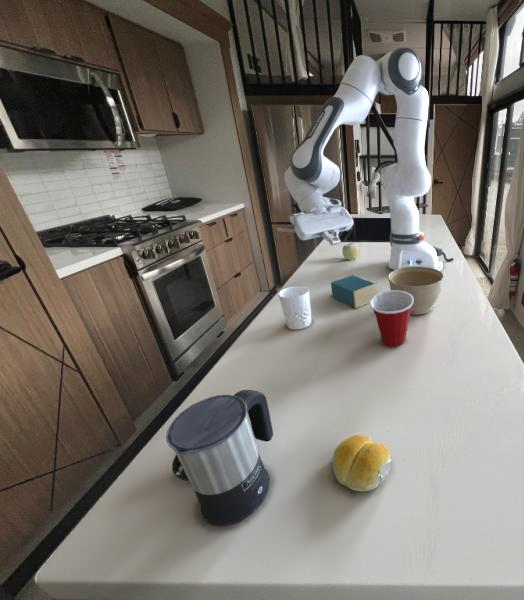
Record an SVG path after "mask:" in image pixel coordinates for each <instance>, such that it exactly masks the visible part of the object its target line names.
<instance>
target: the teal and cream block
mask: <svg viewBox="0 0 524 600" xmlns="http://www.w3.org/2000/svg"><path fill="white" fill-rule="evenodd" d="M330 287H331V288H330V289H331V295H332V297H333V298H335V299H338V300H339V301H342V302H344V303H346V304H348V305H350V306H352V307H354V308H355V309H358V308H360V307H363V306H365V305H367V304H369V303H370V299H371V298H372V297H374V296H375V295H377V294H379V283H377V282H372V281H370V280H367V279H364V278H361V277H358V276H357V275H354V274H351V275H348V276H346V277H343V278H340V279H337V280H334V281H331V282H330Z"/></svg>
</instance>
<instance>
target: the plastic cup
mask: <svg viewBox="0 0 524 600" xmlns="http://www.w3.org/2000/svg"><path fill="white" fill-rule="evenodd" d="M413 303H414V298H413V296H412V295H411V294H409V293H407V292H405V291H399V290H392V291H391V290H386V291H385V290H384V291H381V292H378V294H377V295H375V296H374V297H372V298H371V299H370V303H368V304H369V306H370V308H371V310H372V311H373V314H374V316H375V320H376V324H377V327H378V332H379V334H380V339H381V342H382V343H383V345H385V346H386V347H390V348H397V347H400V346H402V345H404V343H405V341H406V336H407V332H408V328H409V327H408V326H409V322H410V315H411V314H410V311H411V307H412V305H413Z"/></svg>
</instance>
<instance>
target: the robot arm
mask: <svg viewBox="0 0 524 600" xmlns="http://www.w3.org/2000/svg"><path fill="white" fill-rule="evenodd" d="M343 75H344V76H343V77H342V79H341V82H340V85H339V86H338V88H337V90H336V92H335V93H334V95H333V96H331V97H329V98H328V99H327V100H326V101H325V102H324V103H323V105H322V106H321V108H320V109H319V111H318V113H317V115H316V116H315V118H314V120H313V121H312V123H311V125H310V127H309V129H308V131H307V132H306V134H305V136H304V137H303V139H302V140H301V142H300V143H299V144H298V146H296V148H295V149H294V151H293V152H292V153H291V157H290V166H289V167H288V168H287V169H286V170H285V172H284V182H285V183H284V184H285V185H286V188H287V190H288V192H289V193H290V195H291V197H292V199H293V200H294V201H295V202H296V203H297V206H298V209H299V210H300V211H299V212H294V213H293V212H292V213H291V215H290V216H289V221H290V224H291V225H292V226H293V228H294V231H295V233H296V235H297V237H298V239H299V240H301V241H307V240H312V239H315V238H320V237H322V238H323V240H325V241H326V242H328V243H329V244H330V246H335V245H339V244H340V243H341V239H340V237H339V233H341V232H344V231H349V230H351V229H352V228H353V226H354V219H353V218H352V216H351V214H350V212H349V211H348V210H347V209H346V208H345V207H344V206H342V201H341V200H339V199H336V198H330V197H326V196H324V195H326V194H327V193H329V192H331V191H332V190H333V189H336V187H337V186H338V185H339V183H340V180H341V170H340V167H339V166H338V165H337V164H336V163H335V162H334V161H332V160H331V159H329V158H328V157H327V156H325V155H324V151H325V150H324V149H325V147H326V146H327V144H328V142H329V140H330V139H331V137H332V135H333V133H334V131H335V130H336V129H337V127H339V126H341V125H347V126H357V125H360V124H362V123H363V122H364V121H365V120H366V119H367V116H368V115H369V114H370V111H371V108H372V107H373V104H374V101H375V100H376V99H375V98H376V97H377V95H380V96H383V97H389V96H394V99H395V102H396V112H395V113H396V114H395V121H394V131H393V140H392V143H393V147H394V148H395V151H396V157H397V162H396V163H391V164H388V165H387V166H385V167H384V168H383V169H382V171H381V173H380V178H379V179H380V184H381V186H382V188H383V189H384V192H385V196H386V199H387V204H388V208H389V214H390V232H389V244H390V256H389V259H388V260H389V261H388V265H387V267H388V268H389V269H391V270H392V271H394V270H397V269H400V268H404V267H411V266H423V267H430V268H434V269H437V270H439V271H442V270H443V268H444V262H443V261H442V260H441V259H440V258H438V257H441V256H443V259H444V260H445V261H446V262H452V261H454V257H451V258H447V254H446V253H445V252H444V251H443V248H440V247H437V246H432V245H430V244H429V243H428V242H426V241H425V233H424V232H423V231H420V212H419V211H420V210H419V209H418V207H417V205H416V203H415V200H414V198H418V197H419V198H420V197H422V196H425V195H426V194H427V193H428V192H429V190H430V188H431V186H432V176H431V174H430V172H429V170H428V168H427V165H426V156H425V142H426V135H427V134H426V133H427V126H428V118H429V117H428V116H429V93H428V91H427V89H426V87H425V86H423V85H422V84H423V77H422V76H423V75H422V65H421V60H420V58H419V55H418V54H417V52H415V50H413V49H412V48H410V47H404V46H403V47H398V48H395V49H394V50H392V51H389V52H387V53H386V54H384V55H383V56H382V57H381V58H379V59H377V60H374V59H373V58H372V57H370V56H369V55H365V54H361V55H357V56H356V57H355V58H354V59H353V60H352V62H351V63H350V65H349V66H348V68H347V69H346V71H345V73H344V74H343ZM330 235H331V236H330ZM332 236H333V237H332Z"/></svg>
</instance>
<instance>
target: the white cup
mask: <svg viewBox="0 0 524 600" xmlns="http://www.w3.org/2000/svg"><path fill="white" fill-rule="evenodd" d="M278 299H279V301H280V307H281V311H282V313H283V316H284V319H285V323H286V327H287V328H288V329H290V330H302V329H306V328H307V327H309V326H310V325H312V309H311V299H310V289H309V288H308V287H306V286H300V285H294V286H289V287H285V288H283V289H282V290H280V291H279V292H278Z"/></svg>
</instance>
